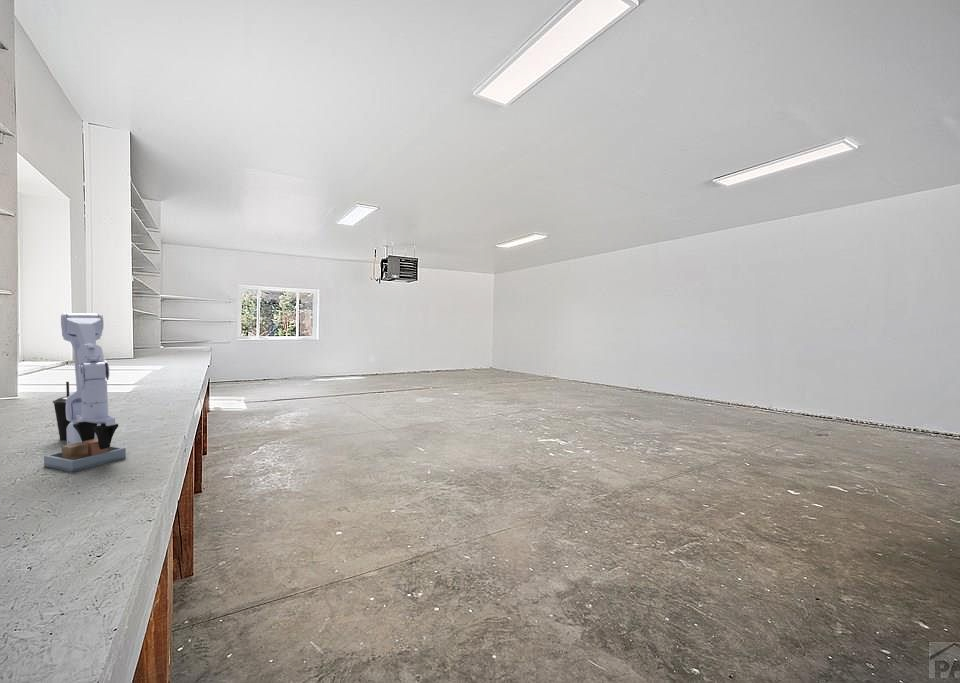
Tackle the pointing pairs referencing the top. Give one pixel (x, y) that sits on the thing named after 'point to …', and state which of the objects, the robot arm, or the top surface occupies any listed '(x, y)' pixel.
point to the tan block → (75, 451)
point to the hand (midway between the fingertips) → (96, 446)
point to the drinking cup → (62, 414)
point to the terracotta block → (94, 447)
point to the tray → (84, 460)
